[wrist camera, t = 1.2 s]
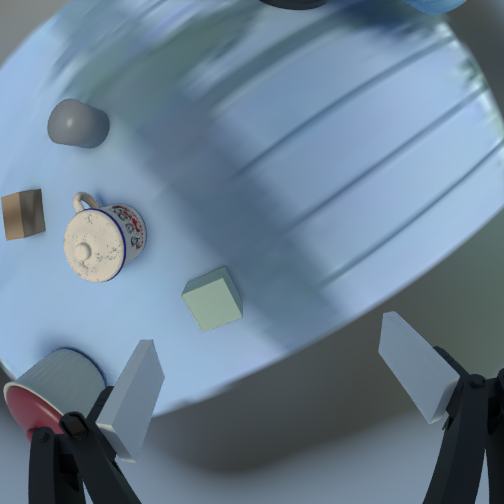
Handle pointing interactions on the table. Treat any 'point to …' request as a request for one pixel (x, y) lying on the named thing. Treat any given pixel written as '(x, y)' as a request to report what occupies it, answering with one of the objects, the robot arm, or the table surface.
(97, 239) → the teacup with lid
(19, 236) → the walnut block
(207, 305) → the sage green block
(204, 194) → the table surface
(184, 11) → the table surface
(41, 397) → the canister
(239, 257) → the table surface
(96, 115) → the grey rounded piece
